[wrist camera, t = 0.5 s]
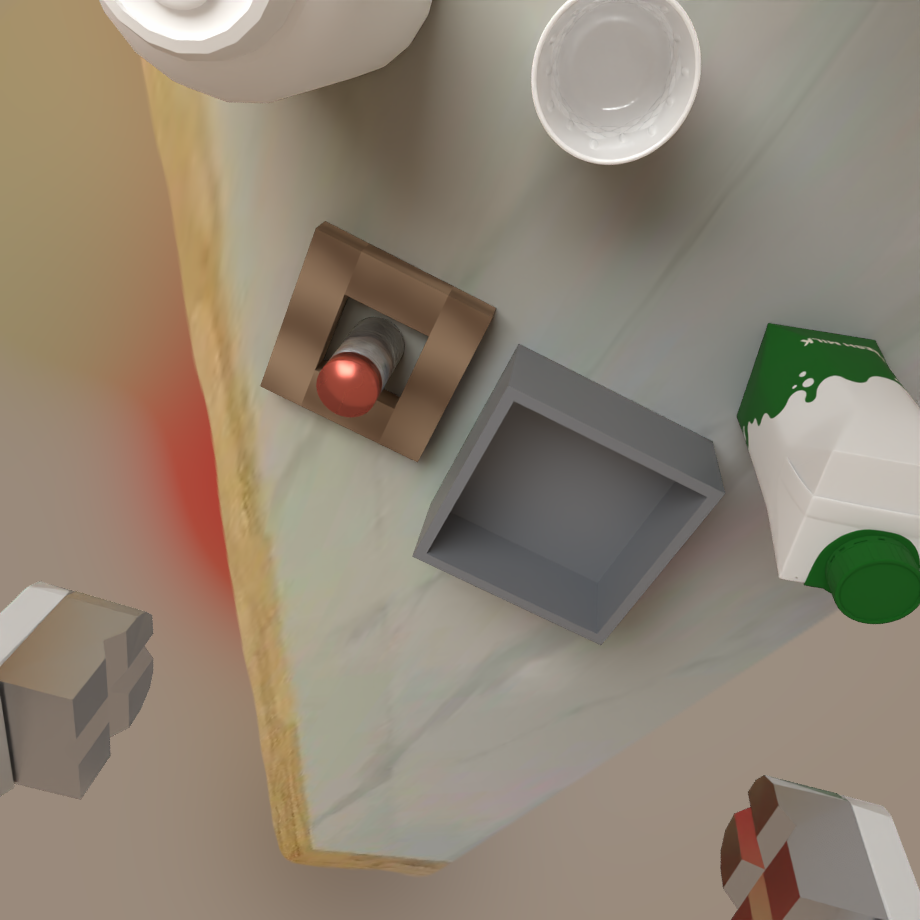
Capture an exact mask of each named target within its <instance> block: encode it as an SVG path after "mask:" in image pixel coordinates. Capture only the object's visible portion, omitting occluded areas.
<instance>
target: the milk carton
mask: <svg viewBox="0 0 920 920" xmlns="http://www.w3.org/2000/svg"><path fill="white" fill-rule="evenodd" d="M737 419H738V421H739V424H740V426H741V429H742V432H743V434H744V438H745V441H746V444H747V447H748V450H749V453H750V456H751V460H752V463H753V466H754V469H755V472H756V475H757V478H758V482H759V485H760V488H761V491H762V494H763V497H764V501H765V504H766V508H767V512H768V517H769V523H770V528H771V534H772V540H773V545H774V551H775V557H776V563H777V569H778V576H779V578H780V579H784V580H789V581H797V582H803V583H804V585H806V586H811V587H817V588H823V589H825V590H826V591H828V592H830V593H832V596H833V598H834V601H835V603H836V604H837V606H838V608H839V609H840V611H841V612H842V613H843V614H845V615H846V616H847V617H849V618H851V619H853V620H855V621H858V622H862V623H867V624H883V623H889V622H893V621H896V620H899V619H901V618H903V617H905V616H907V615H908V614H910V613H911V612H913V611H914V610H915V609H916V608H917V607H918V606H919V605H920V407H919V406H918V405H917V404H916V402H915V401H914V400H913V398H912V397H911V396H910V395H909V393H908V392H907V391H906V390H905V388H904V387H903V386H902V384H901V383H900V382H899V380H898V379H897V378H896V377H895V375H894V374H893V373H892V371H891V370H890V369H889V367H888V365H887V363H886V361H885V359H884V357H883V355H882V353H881V351H880V349H879V347H878V345H877V343H876V341H875V340H871V339H864V338H858V337H852V336H846V335H840V334H833V333H827V332H821V331H815V330H809V329H802V328H796V327H790V326H784V325H777V324H771V323H768V325H767V328H766V331H765V334H764V337H763V340H762V343H761V346H760V349H759V352H758V355H757V358H756V361H755V364H754V367H753V370H752V373H751V376H750V379H749V381H748V384H747V387H746V390H745V393H744V396H743V399H742V402H741V405H740V408H739V411H738V414H737Z"/></svg>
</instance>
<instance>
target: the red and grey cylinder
mask: <svg viewBox="0 0 920 920" xmlns="http://www.w3.org/2000/svg"><path fill="white" fill-rule="evenodd" d="M403 352H404V339H403V336H402V334H401V332H400V331H399V329H398V328H397V327H396V326H395V325H394V324H393V323H392V322H390V321H388V320H386V319H384V318H380V317H369V318H366V319H363V320H362V321H360V322H359V323H358V324H357V325H356V326H355V327H354V329H353V330H352V331H351V332H350V334H349V335H348V336H347V338H346V339H345V340H344V341H343V343H342V344H341V345H340V347H339V348H338V349H337V350H336V352H335V353H334V354H333V356H332V357H331V358H330V359H329V361H328V362H327V363H326V365H325V366H324V367H323V368H322V370H321V371H320V373H319V375H318V377H317V382H316V388H317V393H318V396H319V398H320V400H321V401H322V403H323V404H324V405H325V406H326V407H327V408H328V409H329V410H330V411H332V412H334V413H335V414H337V415H340V416H343V417H358V416H361V415H364V414H366V413H367V412H368V411H369V410H370V409H371V408H372V407H373V405H374V404H375V402H376V400H377V398H378V397H379V395H380V393H381V392H382V390H383V388H384V386H385V385H386V383H387V381H388V379H389V378H390V376H391V374H392V373H393V371H394V369H395V367H396V366H397V364H398V362H399V360H400V359H401V357H402V355H403Z"/></svg>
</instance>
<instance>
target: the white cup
mask: <svg viewBox="0 0 920 920" xmlns="http://www.w3.org/2000/svg"><path fill="white" fill-rule="evenodd" d="M700 76H701V51H700V45H699V41H698V37H697V34H696V31H695V28H694V26H693V24H692V22H691V20H690V18H689V16H688V15H687V13H686V12H685V10H684V9H683V8H682V6H681V5H680V4H679V3H678V2H677V1H676V0H568V1H567V2H566V3H565V4H564V5H563V6H562V7H561V8H560V9H559V10H558V11H557V12H556V13H555V14H554V16H553V17H552V18H551V20H550V21H549V23H548V24H547V26H546V28H545V29H544V31H543V33H542V35H541V37H540V40H539V42H538V45H537V48H536V51H535V54H534V59H533V64H532V73H531V88H532V96H533V101H534V105H535V109H536V112H537V115H538V117H539V119H540V121H541V123H542V125H543V127H544V129H545V130H546V132H547V133H548V135H549V136H550V137H551V138H552V139H553V141H554V142H555V143H556V144H557V145H558V146H560V147H561V148H562V149H563V150H564V151H566V152H567V153H569V154H571V155H572V156H574V157H576V158H578V159H581V160H583V161H586V162H590V163H594V164H600V165H617V164H624V163H628V162H632V161H635V160H638V159H640V158H643V157H645V156H647V155H649V154H650V153H652V152H654V151H655V150H657V149H658V148H659V147H661V146H662V145H663V144H665V143H666V142H667V141H668V140H669V139H670V138H671V137H672V136H673V135H674V134H675V133H676V131H677V130H678V129H679V128H680V126H681V125H682V124H683V122H684V121H685V119H686V117H687V116H688V114H689V112H690V110H691V108H692V106H693V103H694V101H695V98H696V95H697V91H698V87H699V83H700Z"/></svg>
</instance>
